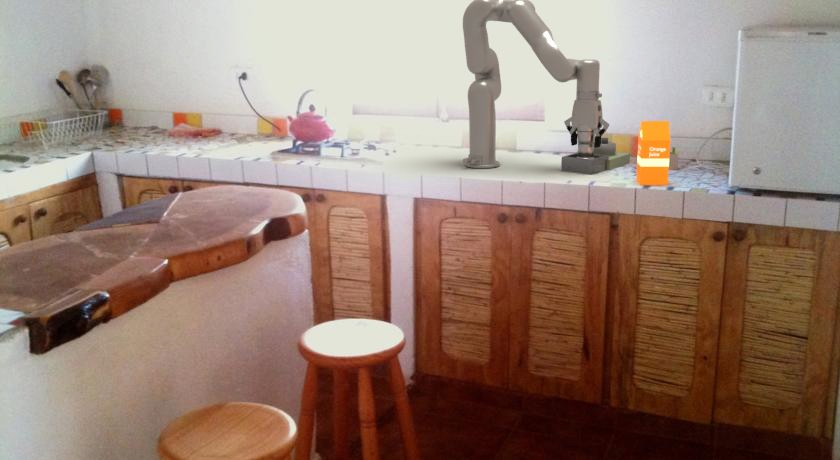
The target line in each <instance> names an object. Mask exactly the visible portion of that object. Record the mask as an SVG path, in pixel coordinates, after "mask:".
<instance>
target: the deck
mask: <svg viewBox="0 0 840 460" xmlns="http://www.w3.org/2000/svg"><path fill="white" fill-rule="evenodd" d="M593 145H594V144H593ZM593 149H594V154H602V155H609V159H608V160H607V170H608V171H609V170H614V169H616V168H618V167H622V166H625V165H628V164H631V163H630V161H631V159H630V158H631V153H628V152H627V153H626V152H618V151H616V150H617V143H616V142H614V141H613V142H612V141H609V137H601V145H600V147H598V148H595V147H593ZM607 170H606V171H607Z"/></svg>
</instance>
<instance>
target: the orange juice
mask: <svg viewBox="0 0 840 460" xmlns="http://www.w3.org/2000/svg"><path fill="white" fill-rule="evenodd" d="M670 132H671V131H670V120H655V121H654V120H641V123H640V127H639V132H638V140H637V142H638V143H637V156H636V157H637V159H636V177H635V179H636V181H637V182H638V184H639V185H640V186H668V183H669V170H670V169H669V155H670V151H671V150H670V149H671V133H670Z"/></svg>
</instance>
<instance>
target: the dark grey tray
mask: <svg viewBox="0 0 840 460" xmlns="http://www.w3.org/2000/svg"><path fill="white" fill-rule="evenodd" d="M577 153H578V151H577V152H574V153H570V154H567V155H564V156H561V165H560V168H561V172H567V173H576V174H583V175H585V174H586V175H590V176H591V175H594V174H597V173H598V174H599V173H601V172H603V171H607V160H608V159H609V155H602V154H594V159H582V158H577Z"/></svg>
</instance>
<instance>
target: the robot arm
mask: <svg viewBox="0 0 840 460" xmlns="http://www.w3.org/2000/svg"><path fill="white" fill-rule="evenodd" d="M463 13H464V14H463V17H462V31H463V40H464V49H465V50H464V51H465V60H466V67H467V69H468V71H469V72H471V74H474V79H475V80H474V81H472V83H471V84H470V85H469V86H468V91H467V103H468V114H469V115H468V117H469V119H468V123H469V124H468V125H469V126H468V128H469V154H468V157H466V158H463V159H462V163H463V164H464V165H465V167H468V168H473V169H492V168H497V167H500V163H501V162H500V161H498V160H496V142H497V141H496V140H497V139H496V134H497V133H496V131H497V130H496V105H495V104H496V103H495V101H497V100H498V99H499V97H500V96H501V93H502V82H501V73H500V64H499V63H500V62H499V57H498V55H497V53H496V51H494V49H493V48H491V47H490V44H489V36H488V35H489V33H488V29H487V23H488V22H503V23H511V24H512V25H513V26H514V28H515V29H516V30H517V31H518V32H519V34H520V35H521V36H522V38H523V39H524V40H525V41H526V43H528V45H529V46H530V48H531V50H532V51H533V53H534V55H535V56H536V57H537V59H538V60H539V61H540V63H541V64H542V66H543V67H544V69H546V71H547V72H548V73H549V74H550V76H551V77H552V78H553V79H554V80H555V81H556V82H559V83H567V82H569V81H573V80H574V81H575V80H576V96H575V97H576V98H575V99H574V100H573V101H574V102H573V105H572V112H571V116H570V117H569V118H568V119H566V120H564V125H565V127H566V129H567V131H568V132H569V134H570V145H571V146H576V145H577V146H578V134H577V128H578V126H579V125H581V124H586V125H587V126H588V127H589V128H590V129H591V130H594V132H595V137H594V147H595V148H598V147H600V145H601V140H602V136H603V135H604V134H605V133H606V132H607V130H608V128H609V127H610V123H608V121H606V120H605V119H604V118H603V107H602V106H603V105H602V101H601V99H600V98H602V96H603V94H602V93H600V90H599V89H600V69H601V68H600V61H599V60H597V59H575V58H574V59H573V58H566V56H565V55H564V53H562V51H561V50H560V48H559V47H558V46H557V44H556V42H555V40H554V36H553V33H552V31H551V29H550V28H549V27H548V25H547V24H546V23H545V22H544V21H543V20H542V18H541V17H540V16H539V15H538V13H537V12H536V7H535V5H534V3H533V2H532V1H531V0H473V1H472V2H470V3H469V4H468V6H467V7H466V9H465V10H464V12H463Z"/></svg>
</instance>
